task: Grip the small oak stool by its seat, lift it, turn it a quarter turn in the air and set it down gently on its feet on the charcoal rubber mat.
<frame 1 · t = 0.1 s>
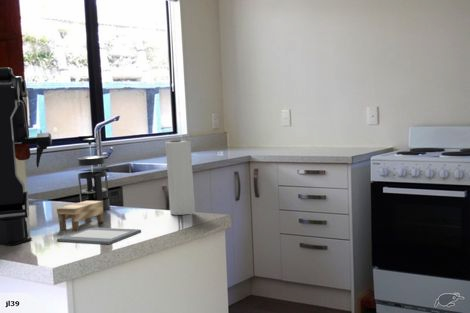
hand: (21, 168, 179), 15 cm above the worktop, tool pointing down, fingers open, 9 cm apart
oak stool: (82, 226, 163), on the worktop
charcoal mat: (99, 236, 148), on the worktop
french press: (96, 210, 188), on the worktop
paper towel roll: (181, 214, 172), on the worktop
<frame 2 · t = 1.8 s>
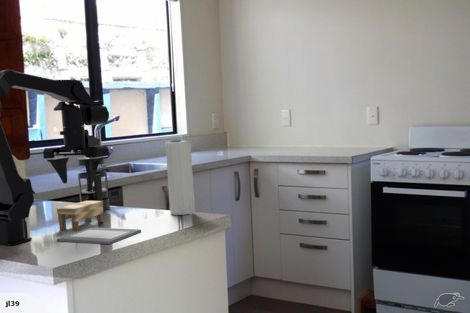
hand: (78, 183, 162), 12 cm above the worktop, tool pointing down, fingers open, 9 cm apart
nothing on the worktop moved.
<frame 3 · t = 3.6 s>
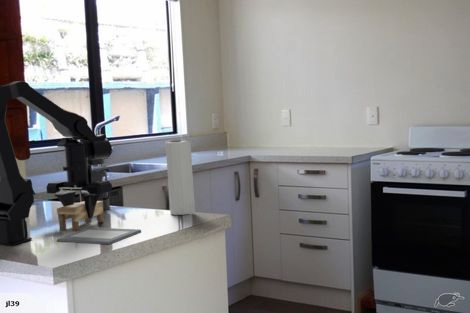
hand: (81, 218, 163), 2 cm above the worktop, tool pointing down, fingers closed on oak stool, 6 cm apart
oak stool: (82, 226, 163), on the worktop, touching gripper
everything else where it was.
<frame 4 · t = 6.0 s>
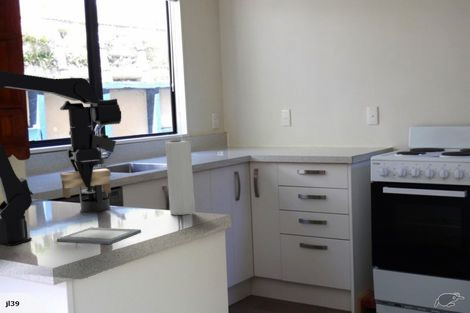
hand: (86, 185, 155), 12 cm above the worktop, tool pointing down, fingers closed on oak stool, 6 cm apart
oak stool: (86, 194, 155), point 10 cm above the worktop, touching gripper
everything else where it was.
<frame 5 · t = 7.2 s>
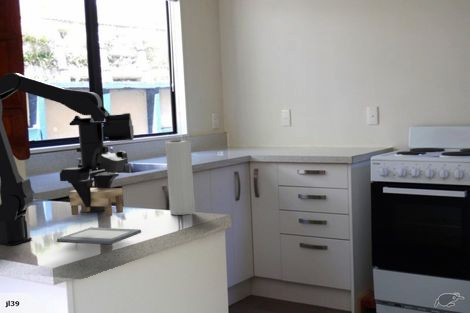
hand: (96, 204, 147), 8 cm above the worktop, tool pointing down, fingers closed on oak stool, 6 cm apart
oak stool: (97, 213, 147), point 6 cm above the worktop, touching gripper
everything else where it was.
when the fingers open (4 cm above the worktop, at t = 8.4 s): oak stool stays where it is, resting on charcoal mat.
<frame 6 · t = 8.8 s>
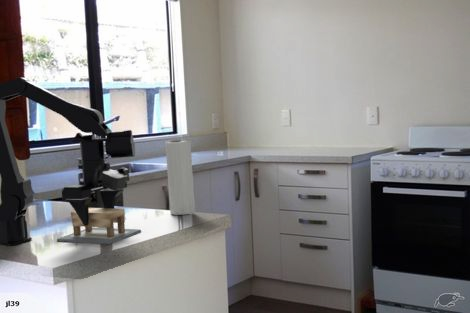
hand: (98, 221, 147), 4 cm above the worktop, tool pointing down, fingers open, 9 cm apart
oak stool: (99, 234, 148), point 1 cm above the worktop, touching charcoal mat
everything else where it was.
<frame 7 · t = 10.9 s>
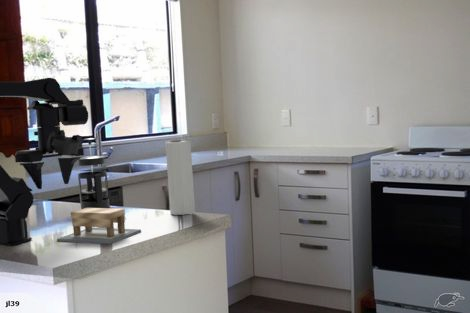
hand: (53, 186, 154), 12 cm above the worktop, tool pointing down, fingers open, 9 cm apart
nothing on the worktop moved.
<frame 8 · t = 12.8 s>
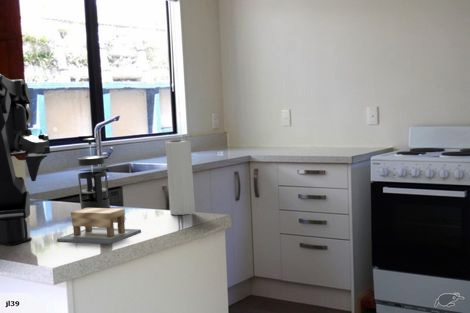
hand: (21, 183, 160), 13 cm above the worktop, tool pointing down, fingers open, 9 cm apart
nothing on the worktop moved.
at the end: oak stool 0.0 cm off-centre on the charcoal mat, point 0.6 cm above the charcoal mat's base; oak stool tilted 0°; the gripper is holding nothing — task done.
